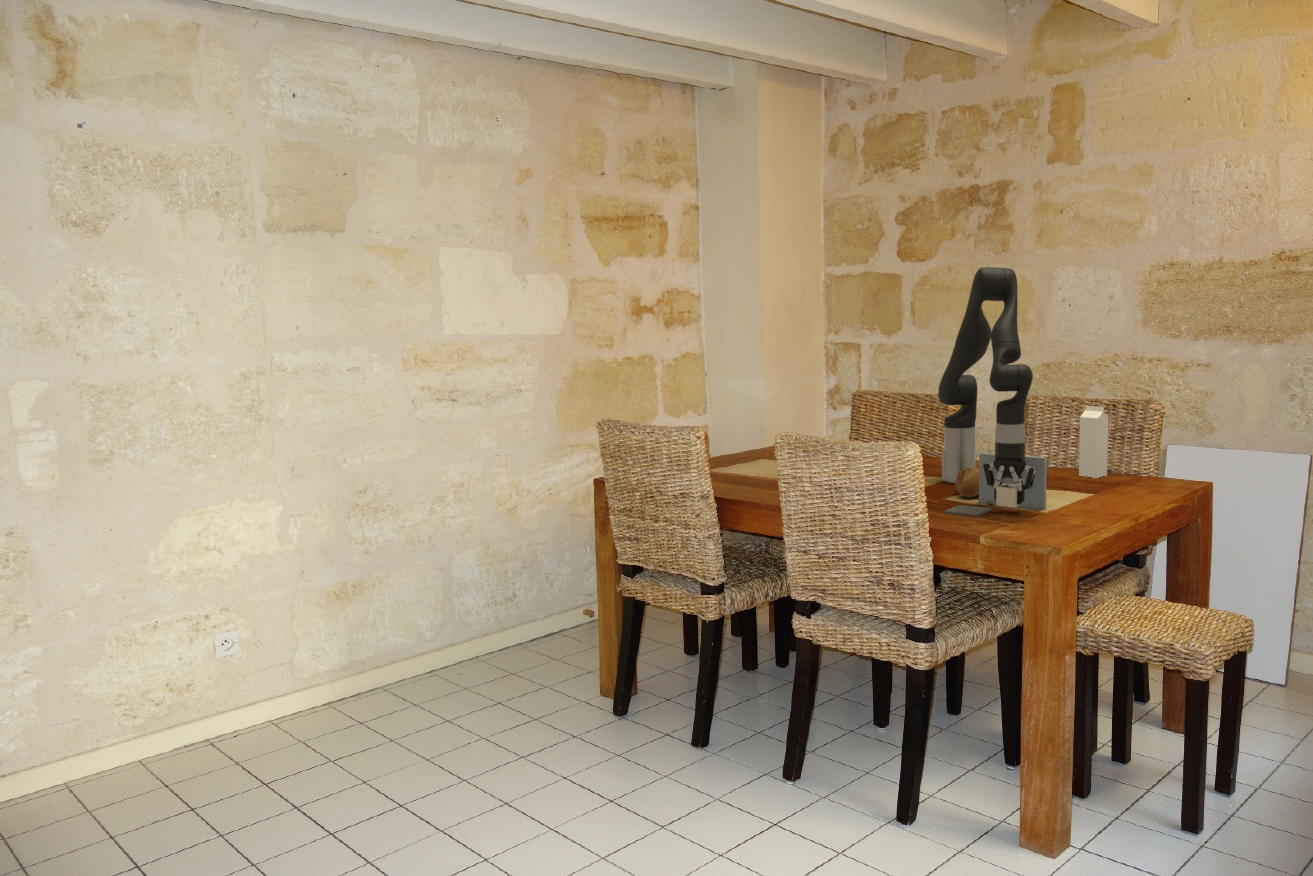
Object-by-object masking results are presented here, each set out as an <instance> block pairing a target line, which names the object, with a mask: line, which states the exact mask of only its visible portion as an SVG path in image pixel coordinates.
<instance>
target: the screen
mask: <svg viewBox="0 0 1313 876" xmlns="http://www.w3.org/2000/svg"><path fill="white" fill-rule="evenodd" d="M978 454H979V455H978V459H979V460H978V463H979V464H978V466H979V467H978V468H979V495H978V506H979V505H981V506H989V505H996V500H995V499H994V487H993V486H991V485H988V484H987V481H986V476H985V472H984V467H983V465H984V464H986V463H988V462H990V463H993V462H994V460H995V453H988V452H980V453H978ZM1047 458H1048V457H1045V456H1031V455H1025V462H1026V465H1028V466H1031V467H1034V466H1035V467H1036V468H1037V471H1036V474H1035V478H1034V482H1033V486H1032V487H1031V488H1029V489H1026V490H1025V496H1024V497H1025V498H1024V502H1022V504H1021V505H1019V506H1017V507H1016V508H1025V509H1027V508H1028V510H1029V511H1036V512H1038V511H1041V510H1047V461H1048V460H1047ZM997 474H998V471H997V470H996V468H995V467H994V469H993V475H994V479H995V481H996V477H997ZM1027 475H1028V474H1027V473H1026V469H1025V470H1024V471H1023V472H1022V476H1023V479H1024V480H1023V481H1024V484H1025V483H1026V479H1027ZM1002 484H1012V485H1016V483H1015V482H1014V479H1012V478H1009V477H1007V478H1005V479H1004V480H1003V483H1002ZM996 506H997V505H996Z"/></svg>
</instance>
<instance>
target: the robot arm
mask: <svg viewBox="0 0 1313 876" xmlns="http://www.w3.org/2000/svg"><path fill="white" fill-rule="evenodd" d="M985 301H988V302H989V301H990V302H1003V310H1002V312H1001V313H1000V316H999V317H998V318H997V320H996V321H995V323H994V324H993V327H992V328H991V326H990V323H989V321H988V319H987V318H986V315H985V313H984V311H983V308H982V306H983V303H984V302H985ZM965 309H966V310H965V313H964V316H963V319H962V322H961V324H960V328H959V330H958V333H957V335H956V339H955V343H954V347H953V349H952V353H951V356H950V359H949V360H948V363H947V365H946V368H945V369H944V372H943V374H942V376H941V379H940V382H939V385H938V392H937V393H938V399H939V401H940V402H941V404H942V405H946V406H961V407H960V409H958V410H957V411H955V412H954V413H952V414H949V415H948V416H946V417H944V422H943V423H944V425H943V426H944V432H943V433H944V438H943V439H944V445H943V446H944V448H943V449H944V450H942V451H941V481H942V482H946V483H953V484H955V481H956V477H957V475H958V473H959V472H960V471H961V470H963V469H965V468H976V419H977V404H978V382H977V379H976V377H975V376H973V374H965V372H967V371H968V370H969V369H970V368H971V367H973V366H974V365H976V364H977V363H978V362H979V361H980V360H981V359H982V358H983V357H984V356H985V354H986V352H987V350H988V348H989V344H990V342H991V349H992V365H991V368H990V369H991V370H990V374H989V385H990V386H991V388H992V389H993V390H994V391H995V392H1000V393H1001V392H1004V393H1005V392H1015V394H1014V396H1013V397H1011V398H1008V399H1004V400H1001V401H998V402H997V404H996V407H995V408H996V415H995V418H996V419H995V421H996V423H995V424H996V425H995V431H994V454H995V460H994V462H993V463H990V462H988V463H986V464H984V465H983V467H984V472H985V476H986V481H987V484H988V485H991V486H993V487H994V499H995V500H996V487H998V486H1000V485H1002V483H1003V480H1004V479H1005V478H1007V477H1009V478H1012V479H1014V482H1015V483H1016V486H1017V489H1018V491H1017V504H1018V505H1020V504H1022V502H1024V498H1025V497H1024V496H1025V490H1026V489H1029V488H1031V487H1032V486H1033V482H1034V478H1035V474H1036V471H1037V468H1036V467H1035V466H1034V467H1031V466H1028V465H1026V462H1025V456H1026V440H1027V436H1026V427H1025V425H1026V424H1025V422H1026V421H1025V410H1026V405H1027V404H1026V403H1027V399H1028V394H1029V391H1030V388H1031V386H1032V382H1033V379H1034V378H1033V377H1034V375H1033V370H1032V369H1031V367H1030V366H1029V365H1028V364H1025V363H1022V364H1021V363H1020V364H1019V363H1017V364H1013V363H1015V362H1017V361H1019V360H1020V358H1021V356H1022V349H1021V342H1020V337H1019V329H1018V279H1017V274H1016V272H1015V270H1014V269H1012V268H1008V267H995V266H994V267H993V266H991V267H990V266H987V267H986V266H983V267H980V268H979V269H978V270H977V271H976V273H975V275H974V277H973V281H972V284H971V288H970V293H969V298H968V301H967V306H966V308H965ZM994 467H995V468H996V470H997V471H998V474H997V477H996V481H995V479H994V475H993V469H994ZM1025 469H1026V473H1027V474H1028V475H1027V479H1026V483H1025V484H1024V481H1023V480H1024V479H1023V476H1022V472H1023V471H1024V470H1025Z"/></svg>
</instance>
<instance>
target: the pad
mask: <svg viewBox="0 0 1313 876" xmlns="http://www.w3.org/2000/svg"><path fill="white" fill-rule="evenodd" d="M991 510H992V508H991V507H982V506H974V505H973V506H972V505H964V504H957V505H955V506H954V507H951V508H948V509H946V510H944V513H945V514H952V515H957V516H959V515H960V516H966V517H967V516H969V517H976V518H978V517H980V516H982V515H984V514H986V513H988V512H990V511H991Z"/></svg>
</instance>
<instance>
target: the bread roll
mask: <svg viewBox="0 0 1313 876" xmlns="http://www.w3.org/2000/svg"><path fill="white" fill-rule="evenodd" d="M954 485H955V488H956V490H957V492H958V494H959V495H960V496H962V497H964V498H974V497H976V496H979V467H975V468H965V469H963V470H961V471H960V472H959V473H958V475H957V477H956V481H955V483H954Z"/></svg>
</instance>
